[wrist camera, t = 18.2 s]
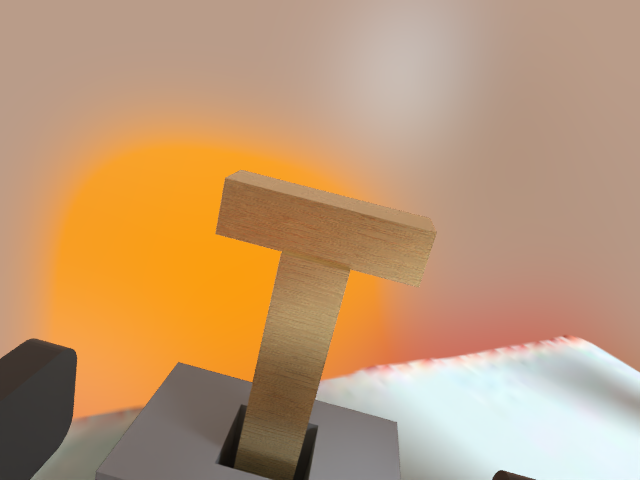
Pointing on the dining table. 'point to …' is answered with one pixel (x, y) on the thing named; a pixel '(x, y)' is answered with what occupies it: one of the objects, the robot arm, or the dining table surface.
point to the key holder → (225, 431)
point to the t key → (308, 296)
